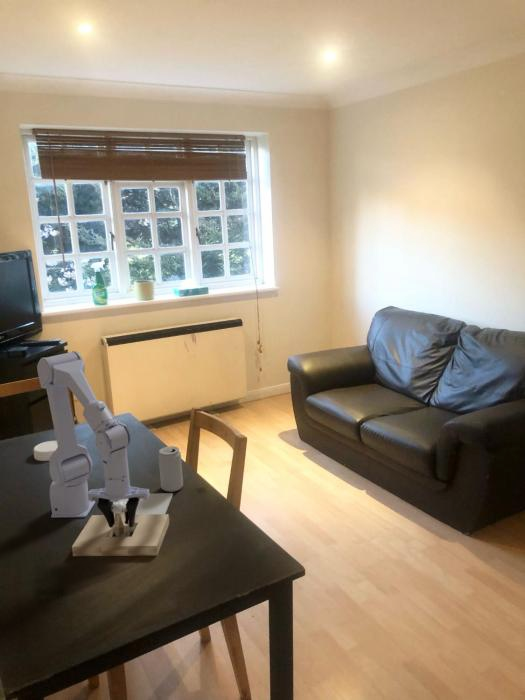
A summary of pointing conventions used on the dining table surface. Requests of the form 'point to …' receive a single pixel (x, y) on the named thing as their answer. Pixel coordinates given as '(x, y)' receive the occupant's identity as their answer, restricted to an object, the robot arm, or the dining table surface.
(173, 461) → the beverage can
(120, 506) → the milkshake
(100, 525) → the pocket holder
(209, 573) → the dining table surface
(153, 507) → the grey mat
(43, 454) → the white ridged disc
